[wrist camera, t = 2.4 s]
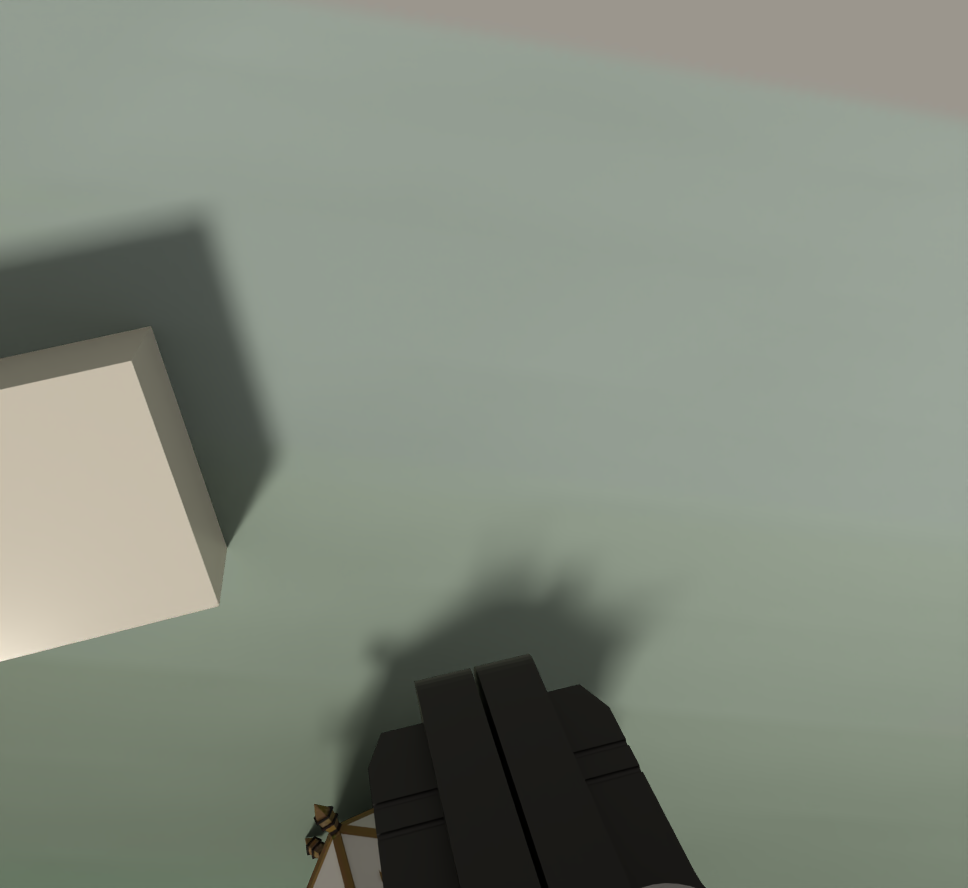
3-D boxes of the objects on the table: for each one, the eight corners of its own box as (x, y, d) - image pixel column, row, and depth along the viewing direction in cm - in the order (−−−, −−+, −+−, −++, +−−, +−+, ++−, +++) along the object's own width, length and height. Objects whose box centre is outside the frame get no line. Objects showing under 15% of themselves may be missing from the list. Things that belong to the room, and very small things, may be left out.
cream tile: (152, 322, 20) (131, 361, 18) (227, 542, 23) (219, 605, 20) (-118, 381, 20) (-183, 430, 17) (-11, 601, 22) (-53, 674, 19)
